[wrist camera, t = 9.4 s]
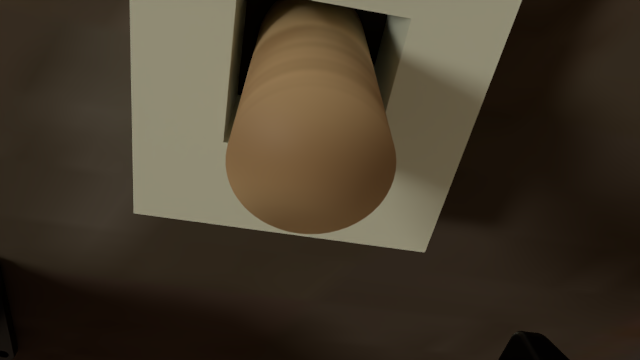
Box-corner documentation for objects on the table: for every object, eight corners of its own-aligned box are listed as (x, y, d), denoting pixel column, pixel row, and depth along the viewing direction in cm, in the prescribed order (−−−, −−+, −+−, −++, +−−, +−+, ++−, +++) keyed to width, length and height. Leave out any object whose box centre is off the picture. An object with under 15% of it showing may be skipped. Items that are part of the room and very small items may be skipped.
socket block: (409, 195, 21) (424, 252, 18) (159, 158, 20) (133, 213, 17) (511, -109, 15) (558, -95, 12) (165, -183, 14) (126, -189, 11)
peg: (352, 99, 19) (373, 243, 12) (253, 83, 18) (219, 222, 12) (375, -1, 17) (417, 104, 10) (265, -22, 16) (233, 74, 10)
